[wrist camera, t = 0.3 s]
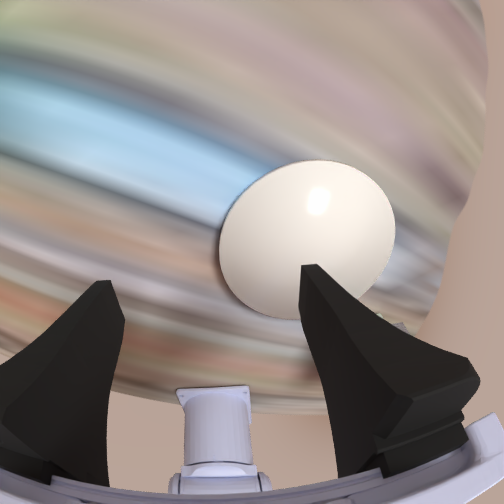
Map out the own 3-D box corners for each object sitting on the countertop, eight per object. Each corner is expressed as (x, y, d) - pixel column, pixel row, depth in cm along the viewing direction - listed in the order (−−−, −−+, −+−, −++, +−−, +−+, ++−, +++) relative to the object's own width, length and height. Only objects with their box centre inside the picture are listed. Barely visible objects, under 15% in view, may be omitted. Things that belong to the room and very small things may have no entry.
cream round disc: (372, 301, 26) (376, 309, 25) (226, 317, 25) (226, 326, 25) (401, 159, 19) (408, 164, 18) (211, 162, 18) (211, 166, 18)
